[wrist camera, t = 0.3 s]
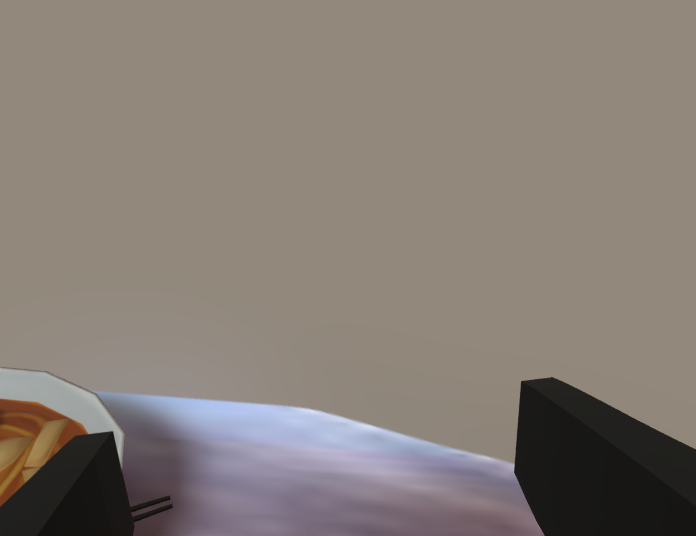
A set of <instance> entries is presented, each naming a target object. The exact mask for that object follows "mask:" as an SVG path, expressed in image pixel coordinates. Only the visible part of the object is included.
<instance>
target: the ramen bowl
mask: <svg viewBox="0 0 696 536" xmlns="http://www.w3.org/2000/svg"><path fill="white" fill-rule="evenodd" d="M109 431H113V433H114V437H115V442H116V446H117V451H118V455H119V460H120V464H121V469H122V467H123V454H124V440H125V433H124V431H123V430H122V428H121V427H120V426H119V424H118V423H117V422H116V420H115V419H114V417H113V416H112V415H111V413H110V412H109V410H108V409H107V408H106V406H105V405H104V404H103V402H102V401H101V399H100V398H99V397H98V395H97V394H95V393H93V392H91V391H89V390H87V389H84V388H82V387H80V386H78V385H76V384H73V383H71V382H69V381H67V380H65V379H63V378H60V377H58V376H56V375H54V374H52V373H49V372H47V371H37V370H27V369H16V368H6V367H0V506H1V505H2V504H3V503H4V502H6V501H7V500H8V499H9V498H10V497H11V496H12V495H13V494H14V493H15V492H16V491H17V490H18V489H19V488H20V487H21V486H22V485H23V484H25V483H26V482H27V481H28V480H29V479H30V478H31V477H32V476H33V475H34V474H35V473H36V472H37V471H38V470H39V469H40V468H41V467H42V466H43V465H44V464H45V463H46V462H47V461H48V460H49V459H50V458H51V457H52V456H53V455H54V454H56V453H57V452H58V451H59V450H60V449H61V448H62V447H63V446H64V445H65V444H66V443H67V442H68V441H70V440H71V439H72V438H73V437H74V436H76V435H84V434H93V433H101V432H109ZM167 500H170V496H166V497H163V498H160V499H156V500H153V501H149V502H146V503H143V504H139V505H136V506H133V507H130V510H131V512H134V511H137V510H140V509H143V508H146V507H149V506H152V505H155V504H158V503H161V502H164V501H167ZM171 508H173V505H172V504H170V505H167V506H164V507H161V508H158V509H155V510H152V511H149V512H146V513H143V514H140V515H137V516H135V517H132V519H133V522H136V521H139V520H141V519H144V518H147V517H149V516H152V515H155V514H157V513H160V512H163V511H165V510H168V509H171Z"/></svg>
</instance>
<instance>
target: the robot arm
mask: <svg viewBox="0 0 696 536" xmlns="http://www.w3.org/2000/svg"><path fill="white" fill-rule="evenodd" d="M517 430H518V431H517V442H516V457H515V468H514V473H515V475H516V477H517V479H518V482H519V484H520V486H521V489H522V491H523V493H524V495H525V498H526V500H527V502H528V504H529V506H530V508H531V511H532V513H533V515H534V517H535V519H536V521H537V523H538V525H539V526H540V528H541V530H542V531H543V533H544V535H545V536H696V449H694V448H692V447H689V446H688V445H685V444H684V443H682V442H679V441H677V440H675V439H673V438H671V437H669V436H667V435H665V434H663V433H661V432H659V431H657V430H656V429H654V428H652V427H650V426H648V425H646V424H644V423H642V422H640V421H638V420H636V419H634V418H632V417H630V416H628V415H627V414H625V413H623V412H621V411H619V410H617V409H615V408H613V407H611V406H609V405H608V404H606V403H604V402H602V401H600V400H598V399H596V398H594V397H592V396H591V395H589V394H587V393H585V392H583V391H581V390H579V389H577V388H575V387H573V386H571V385H569V384H566V383H564V382H562V381H560V380H558V379H555V378H553V377H551V378H543V379H535V380H527V381H521V392H520V404H519V417H518V429H517ZM133 531H134V523H133V519H132V514H131V510H130V505H129V501H128V496H127V492H126V487H125V482H124V478H123V473H122V469H121V464H120V460H119V455H118V451H117V446H116V442H115V437H114V433H113V431H109V432H101V433H93V434H84V435H76V436H74V437H73V438H72V439H71V440H70V441H68V442H67V443H66V444H65V445H64V446H63V447H62V448H61V449H60V450H59V451H58V452H57V453H56V454H54V455H53V456H52V457H51V458H50V459H49V460H48V461H47V462H46V463H45V464H44V465H43V466H42V467H41V468H40V469H39V470H38V471H37V472H36V473H35V474H34V475H33V476H32V477H31V478H30V479H29V480H28V481H27V482H26V483H25V484H23V485H22V486H21V487H20V488H19V489H18V490H17V491H16V492H15V493H14V494H13V495H12V496H11V497H10V498H9V499H8V500H7V501H6V502H4V503H3V504H2V505H1V506H0V536H133Z"/></svg>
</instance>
